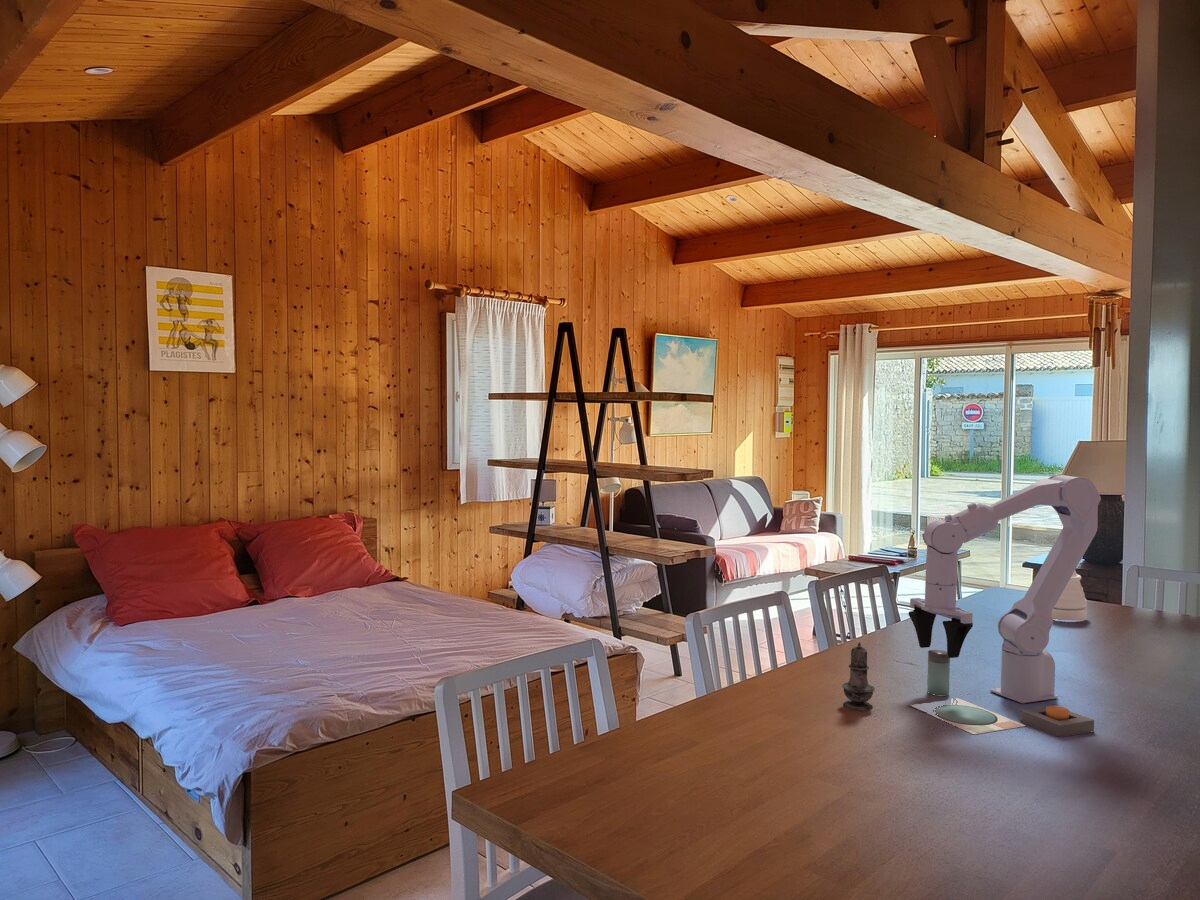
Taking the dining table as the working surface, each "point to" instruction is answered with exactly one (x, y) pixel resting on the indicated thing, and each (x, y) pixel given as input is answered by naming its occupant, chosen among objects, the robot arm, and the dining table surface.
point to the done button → (1057, 712)
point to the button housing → (1057, 722)
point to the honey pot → (1071, 601)
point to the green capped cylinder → (938, 672)
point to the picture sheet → (974, 718)
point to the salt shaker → (858, 681)
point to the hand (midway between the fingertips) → (938, 652)
